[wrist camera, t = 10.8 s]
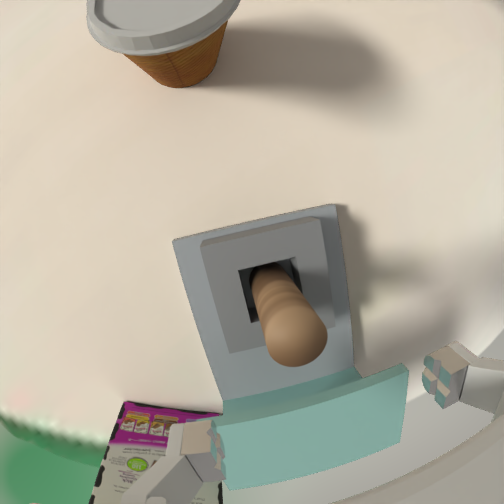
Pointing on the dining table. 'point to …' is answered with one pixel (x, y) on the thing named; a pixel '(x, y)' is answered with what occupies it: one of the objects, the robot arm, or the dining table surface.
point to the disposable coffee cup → (163, 35)
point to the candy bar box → (143, 452)
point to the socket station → (272, 373)
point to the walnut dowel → (286, 317)
